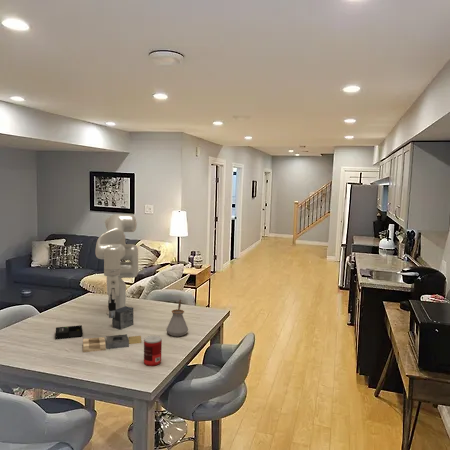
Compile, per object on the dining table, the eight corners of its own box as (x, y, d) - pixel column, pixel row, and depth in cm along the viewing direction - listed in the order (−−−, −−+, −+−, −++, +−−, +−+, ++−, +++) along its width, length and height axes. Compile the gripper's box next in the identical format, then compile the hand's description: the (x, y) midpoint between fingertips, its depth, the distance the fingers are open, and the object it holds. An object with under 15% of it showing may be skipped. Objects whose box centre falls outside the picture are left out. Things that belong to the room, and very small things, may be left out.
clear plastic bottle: (108, 316, 201) (108, 290, 200) (114, 316, 202) (115, 290, 201) (109, 318, 198) (109, 291, 197) (115, 317, 199) (115, 291, 198)
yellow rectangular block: (128, 342, 206) (128, 336, 205) (140, 341, 208) (140, 335, 207) (128, 344, 203) (128, 338, 203) (141, 343, 205) (141, 337, 205)
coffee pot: (187, 338, 213) (187, 310, 212) (164, 338, 213) (165, 310, 212) (190, 325, 235) (190, 299, 233) (170, 324, 234) (170, 298, 233)
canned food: (162, 358, 188) (162, 335, 187) (160, 366, 180) (160, 342, 179) (145, 358, 187) (145, 335, 186) (142, 366, 179) (142, 341, 178)
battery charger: (55, 341, 205) (55, 333, 205) (55, 334, 214) (55, 327, 214) (82, 338, 210) (82, 331, 210) (81, 332, 219) (81, 325, 219)
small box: (125, 323, 234) (125, 305, 233) (134, 325, 231) (134, 307, 230) (111, 328, 225) (111, 310, 224) (120, 331, 221) (120, 312, 221)
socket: (106, 341, 206) (106, 336, 205) (126, 340, 209) (126, 334, 209) (107, 349, 196) (107, 343, 196) (129, 347, 199) (129, 341, 199)
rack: (83, 344, 201) (83, 338, 201) (104, 342, 204) (104, 337, 204) (83, 352, 192) (83, 346, 191) (105, 350, 195) (105, 344, 195)
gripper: (122, 275, 192) (121, 313, 193) (118, 268, 207) (118, 304, 209) (105, 276, 189) (105, 315, 191) (102, 269, 204) (102, 305, 206)
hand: (111, 309), depth 200 cm, fingers closed on clear plastic bottle, 3 cm apart
